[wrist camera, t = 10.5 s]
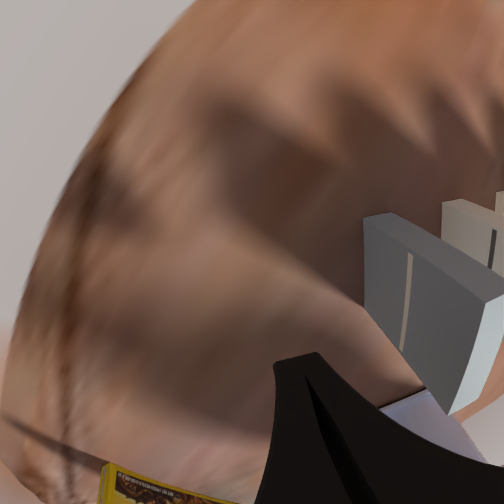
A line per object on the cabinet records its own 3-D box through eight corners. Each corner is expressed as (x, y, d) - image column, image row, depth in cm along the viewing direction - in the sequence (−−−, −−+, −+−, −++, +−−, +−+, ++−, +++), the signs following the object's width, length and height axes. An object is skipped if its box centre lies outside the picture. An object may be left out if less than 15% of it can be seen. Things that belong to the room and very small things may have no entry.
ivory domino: (462, 198, 14) (576, 251, 7) (455, 278, 16) (545, 349, 9) (442, 202, 14) (561, 260, 7) (436, 284, 16) (527, 364, 9)
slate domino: (363, 308, 16) (446, 416, 8) (362, 217, 14) (485, 303, 6) (389, 300, 16) (478, 398, 8) (391, 212, 14) (517, 286, 7)
